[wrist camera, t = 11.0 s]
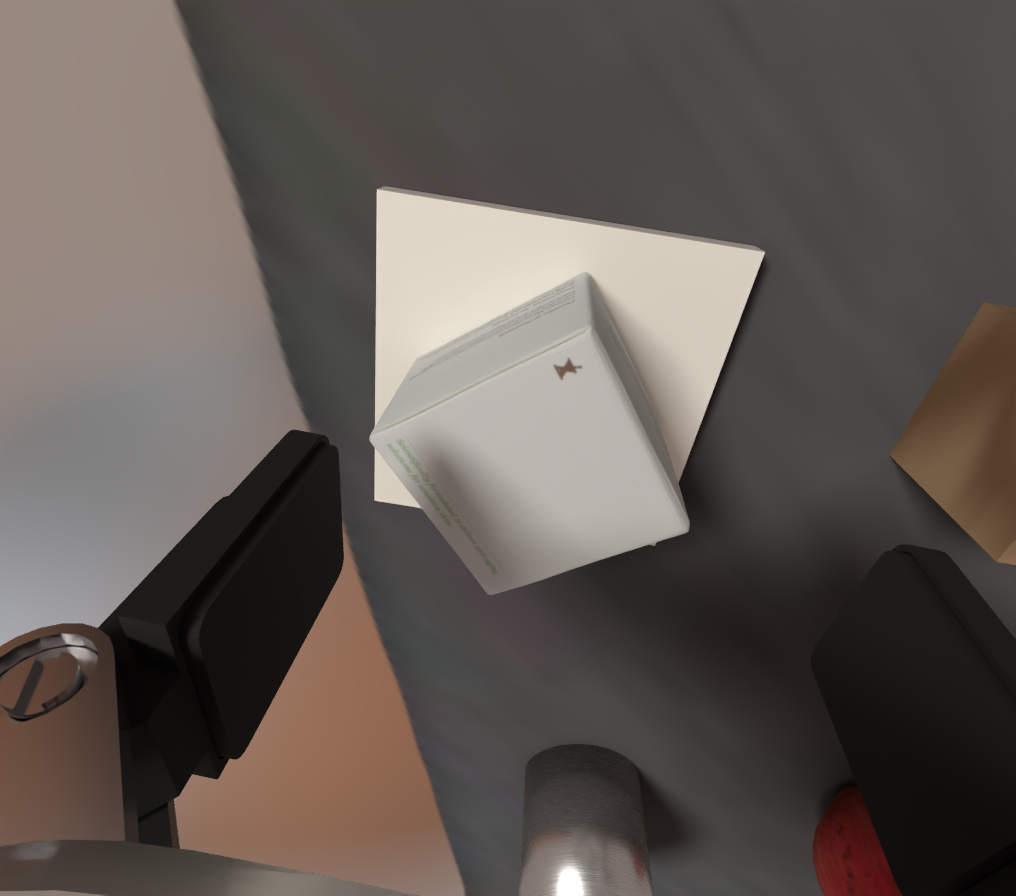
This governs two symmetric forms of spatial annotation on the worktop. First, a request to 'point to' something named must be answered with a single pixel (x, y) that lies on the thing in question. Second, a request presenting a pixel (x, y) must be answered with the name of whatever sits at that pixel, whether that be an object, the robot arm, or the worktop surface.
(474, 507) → the small box
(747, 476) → the worktop surface
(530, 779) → the tin
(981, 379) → the walnut block
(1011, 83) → the worktop surface
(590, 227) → the plate
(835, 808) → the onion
